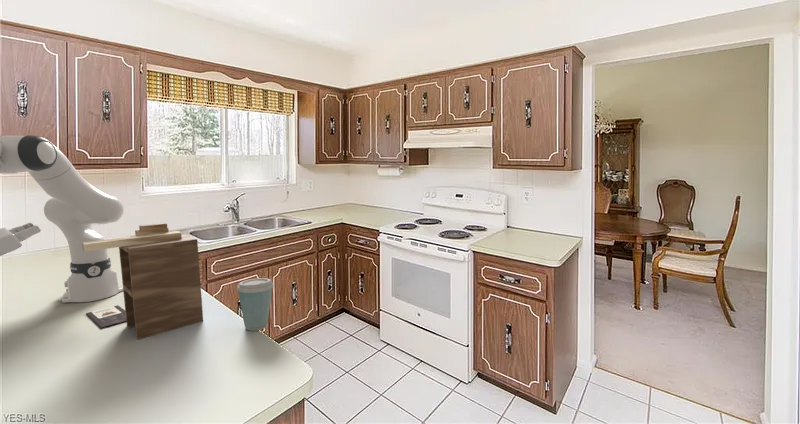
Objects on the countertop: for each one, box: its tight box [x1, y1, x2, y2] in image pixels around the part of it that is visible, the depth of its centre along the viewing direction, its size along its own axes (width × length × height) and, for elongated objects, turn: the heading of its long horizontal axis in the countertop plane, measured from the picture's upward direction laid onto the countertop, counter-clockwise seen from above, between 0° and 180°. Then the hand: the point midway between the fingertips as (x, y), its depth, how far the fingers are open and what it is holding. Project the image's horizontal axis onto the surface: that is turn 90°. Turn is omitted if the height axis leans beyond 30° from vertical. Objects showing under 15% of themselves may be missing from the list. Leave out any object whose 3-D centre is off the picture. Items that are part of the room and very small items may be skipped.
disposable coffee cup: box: [236, 277, 275, 331], centre depth 118 cm, size 11×11×15 cm
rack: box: [118, 222, 204, 340], centre depth 119 cm, size 13×18×32 cm
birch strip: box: [82, 230, 182, 251], centre depth 113 cm, size 4×24×2 cm, turn 137°
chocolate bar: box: [85, 305, 127, 330], centre depth 126 cm, size 9×1×18 cm
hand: (36, 226), depth 97 cm, fingers open, 8 cm apart
